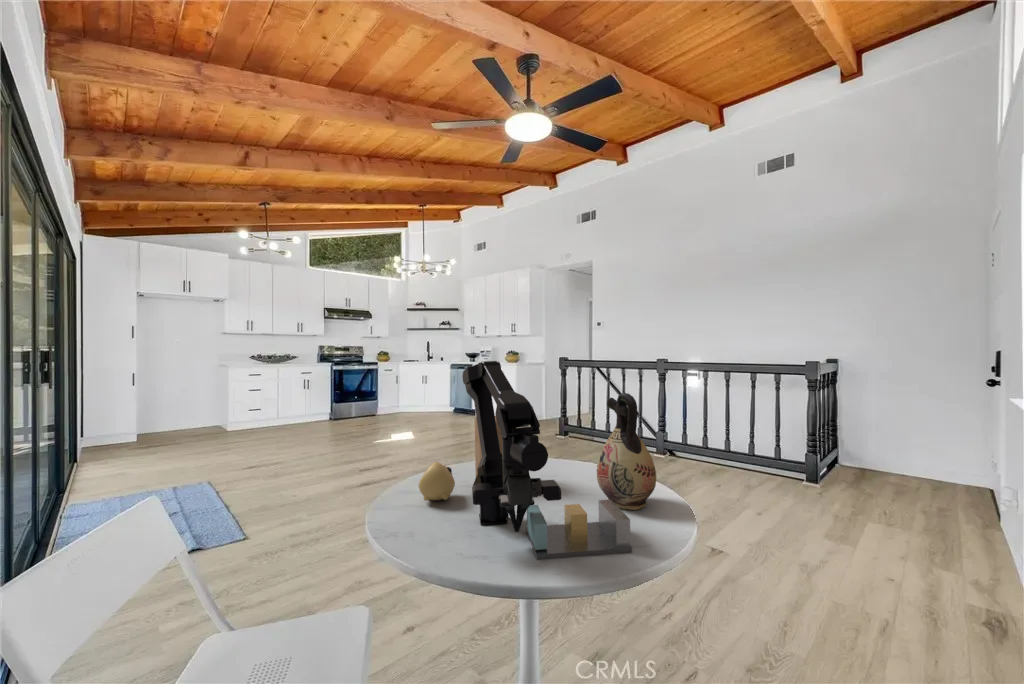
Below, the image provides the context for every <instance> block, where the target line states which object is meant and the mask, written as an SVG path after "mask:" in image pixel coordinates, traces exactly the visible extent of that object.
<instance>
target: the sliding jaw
mask: <svg viewBox="0 0 1024 684" xmlns="http://www.w3.org/2000/svg"><path fill="white" fill-rule="evenodd" d="M547 525H548V523H547V521H546V519H545V516H544V515H543V512H542V511H541V509H540V506H539V505H538V504H534V505H530V506H529V507H528V509H527V510H526V527H527V529H528V532H529V535H530V537H531V540H532V542H533V545H534V547H535V550H541V549H547Z"/></svg>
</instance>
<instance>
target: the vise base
mask: <svg viewBox="0 0 1024 684" xmlns="http://www.w3.org/2000/svg"><path fill="white" fill-rule="evenodd" d="M525 532H526V534H527V537H528V539H529V542H530V545H531V549H532V551H533V553H534V556H535V558H536V560H537V561H538V560H548V559H563V558H575V557H576V558H577V557H588V556H589V557H590V556H605V555H616V554H625V553H626V554H627V553H633V547H632V545H631V519H630V518H629V516H628V515H627V514H626V513H625V512H624V511H623V509H621V508H619V507H618V506H617V505H616V504H615V503H614V502H613V501H612V500H609V499H599V500H598V521H595V522H587V535H588V542H582V543H571V541H570V540H569V538H568V536H567V535H566V533H565V523H563V524H551V525H548V524H547V549H541V550H535V547H534V545H533V542H532V540H531V537H530V535H529V532H528V529H527V526H526V527H525Z"/></svg>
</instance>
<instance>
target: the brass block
mask: <svg viewBox="0 0 1024 684" xmlns="http://www.w3.org/2000/svg"><path fill="white" fill-rule="evenodd" d="M563 507H564V508H563V509H564V515H563V516H564V524H565V533H566V535H567V536H568V538H569V540H570V541H571V543H582V542H588V535H587V523H588V513H587V512H586V510H585V509H584V508H583V507H582V505H581V504H580V503H574V504H564V505H563Z"/></svg>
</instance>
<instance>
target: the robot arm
mask: <svg viewBox="0 0 1024 684" xmlns="http://www.w3.org/2000/svg"><path fill="white" fill-rule="evenodd" d="M462 382H463V385H465V391H466V393H467V394H468V396H470V398H471V399H472V400H473V402H474V409H475V417H476V418H477V425H478V432H479V439H480V446H481V453H482V458H481V461H480V463H479V466H478V468H477V472H478V474H477V476H476V475H475V479H474V481H473V484H472V487H471V492H472V493H471V496H472V505H475V506H478V505H479V514H478V517H479V523H480V525H481V526H486V525H501V524H503V525H505V524H508V519H509V517H510V520H511V523H512V524H511V525H512V527H513V529H514V530H513V531H514V532H515V533H520V530H521V527H522V523H523V521H524V518H525V514H527V509H528V507H529V506H530V505H536V504H535V503H536V502H535V499H534V498H539V497H541V496H543V498H544V499H545V500H546V501H547V502H548V501H549V502H550V501H552V502H553V501H560V500H562V488H561V487H560V485H559V483H558V482H557V481H556V480H555V479H544V480H543V479H541V478H540V477H536V478H535V477H533V478H531V476H530V472H537V471H540V470H542V469H543V468H544V467H546V464H547V462H548V459H549V453H548V449H547V447H546V446H545V445H544V444H543V443H541V442H539V438H540V437H539V435H541V430H540V427H541V424H540V422H539V419H538V416H537V414H536V413H535V409H534V406H532V404H531V402H530V401H529V400H528V399H527V398H526V397H525V395H522V394H521V393H518V392H516V391H515V390H514V388H513V386H512V385H511V383H510V382H509V380H508V378H507V376H506V375H505V373H504V371H503V370H502V365H501V363H500V361H497V360H487V361H486V360H484V361H481V362H478V363H477V364H474V365H471V366H469V365H468V366H467V367H466V368H465V369H464V370H463V372H462ZM493 399H494V400H493ZM494 402H495V403H496V408H495V409H494ZM495 416H496V420H495ZM496 421H497V423H498V426H499V428H500V430H501V432H500V434H501V435H502V453H501V451H500V446H499V439H498V433H497V427H496ZM515 506H516V507H515ZM515 508H516V509H515Z"/></svg>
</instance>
